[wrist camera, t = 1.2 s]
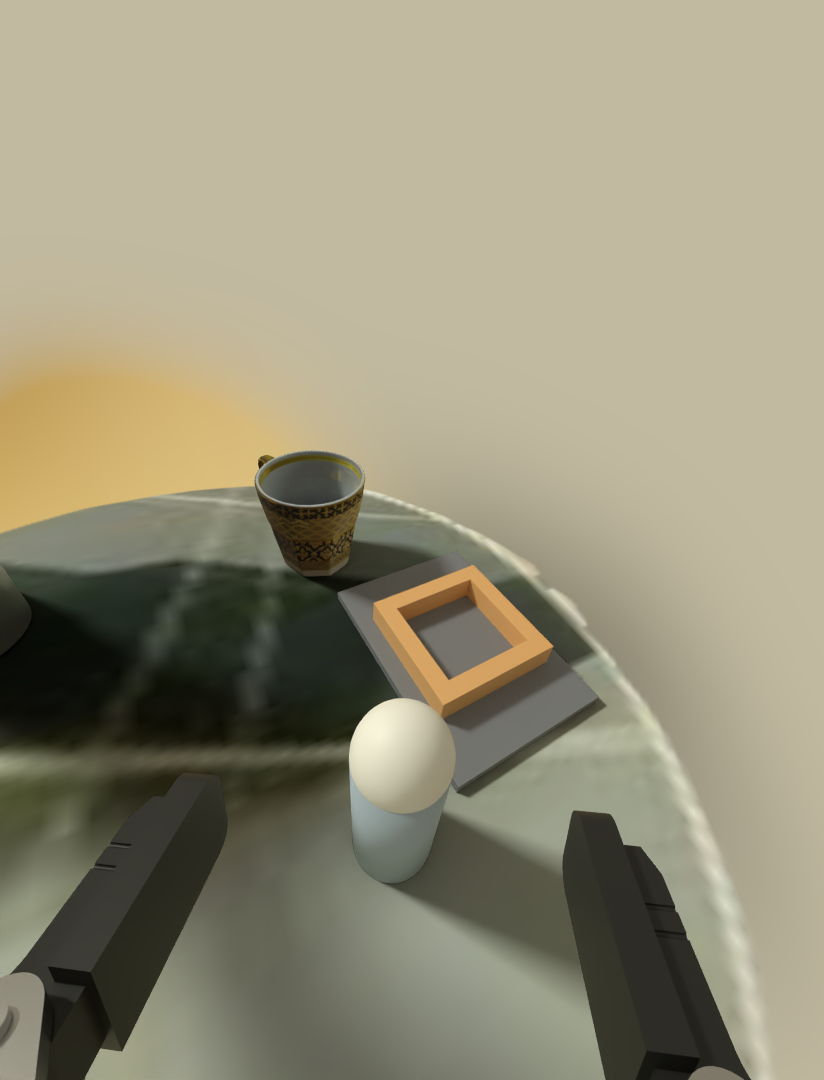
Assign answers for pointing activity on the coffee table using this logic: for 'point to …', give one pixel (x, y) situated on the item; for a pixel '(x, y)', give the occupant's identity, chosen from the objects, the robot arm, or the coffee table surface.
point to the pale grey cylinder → (398, 786)
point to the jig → (466, 659)
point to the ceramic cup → (311, 507)
